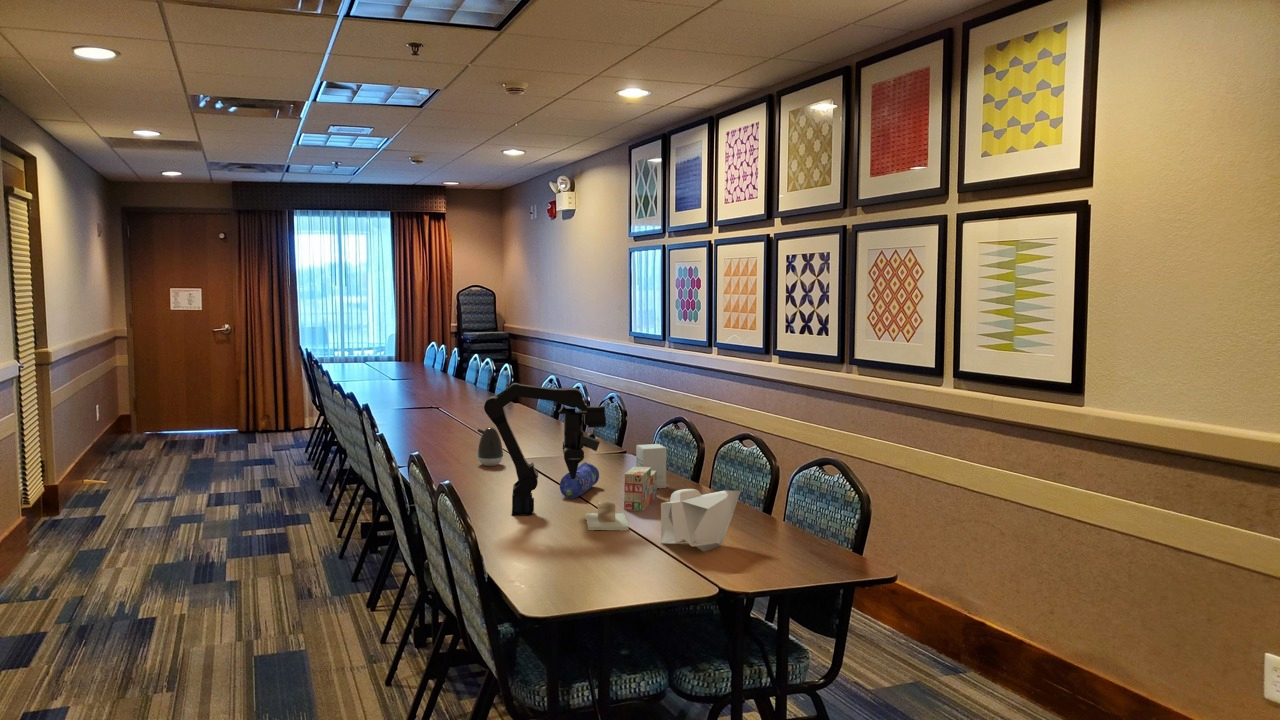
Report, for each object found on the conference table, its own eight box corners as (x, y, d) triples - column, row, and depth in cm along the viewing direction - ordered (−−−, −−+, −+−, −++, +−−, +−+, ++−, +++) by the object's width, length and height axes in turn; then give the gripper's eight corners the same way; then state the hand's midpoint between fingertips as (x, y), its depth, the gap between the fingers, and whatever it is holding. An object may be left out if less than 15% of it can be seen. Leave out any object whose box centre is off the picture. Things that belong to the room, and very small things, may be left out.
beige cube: (598, 522, 280) (599, 505, 280) (597, 517, 285) (598, 501, 285) (615, 521, 281) (615, 505, 280) (613, 517, 286) (614, 501, 285)
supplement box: (658, 483, 341) (659, 443, 340) (666, 488, 333) (667, 447, 332) (635, 484, 339) (635, 444, 337) (642, 489, 330) (643, 448, 329)
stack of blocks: (639, 495, 321) (639, 461, 320) (656, 497, 320) (657, 462, 319) (623, 510, 301) (624, 473, 300) (642, 511, 299) (643, 474, 298)
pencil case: (581, 500, 313) (582, 472, 312) (557, 498, 315) (557, 471, 314) (600, 486, 334) (600, 460, 334) (577, 485, 336) (577, 459, 336)
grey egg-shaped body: (481, 462, 375) (481, 425, 374) (506, 463, 374) (506, 426, 373) (473, 466, 365) (473, 429, 364) (498, 468, 364) (498, 430, 363)
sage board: (588, 530, 274) (588, 526, 274) (585, 517, 290) (585, 513, 290) (628, 530, 276) (628, 526, 276) (623, 516, 292) (623, 513, 291)
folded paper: (655, 485, 260) (687, 503, 245) (725, 478, 272) (760, 494, 257) (651, 542, 263) (682, 564, 248) (721, 533, 274) (755, 553, 260)
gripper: (600, 432, 285) (599, 481, 286) (596, 423, 304) (595, 469, 305) (564, 432, 284) (563, 482, 285) (562, 423, 302) (562, 470, 304)
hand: (572, 475), depth 295 cm, fingers open, 9 cm apart
